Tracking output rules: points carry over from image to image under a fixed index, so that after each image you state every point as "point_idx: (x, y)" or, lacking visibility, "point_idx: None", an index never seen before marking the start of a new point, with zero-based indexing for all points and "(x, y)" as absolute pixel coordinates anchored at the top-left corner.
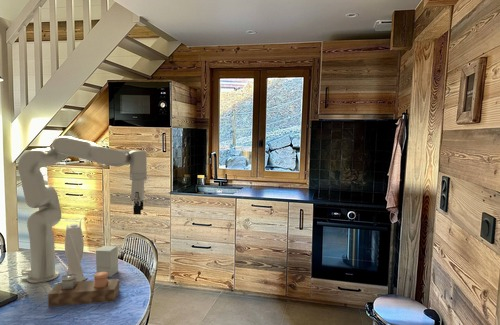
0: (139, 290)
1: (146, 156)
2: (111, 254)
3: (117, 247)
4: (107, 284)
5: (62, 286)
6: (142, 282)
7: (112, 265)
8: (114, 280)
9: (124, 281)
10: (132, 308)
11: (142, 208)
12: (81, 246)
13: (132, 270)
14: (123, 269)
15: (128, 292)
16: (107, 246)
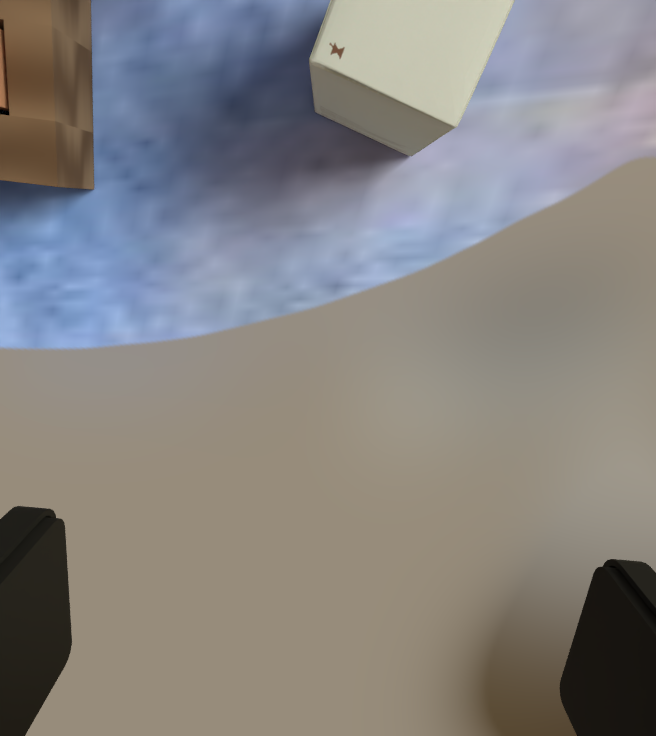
0: (73, 307)
1: None
2: (326, 81)
3: (448, 128)
4: (3, 108)
5: None
6: (181, 322)
7: (336, 109)
8: (32, 154)
9: (219, 213)
10: None
11: (571, 716)
12: None
13: (391, 256)
14: (430, 193)
15: (55, 246)
16: (476, 6)
